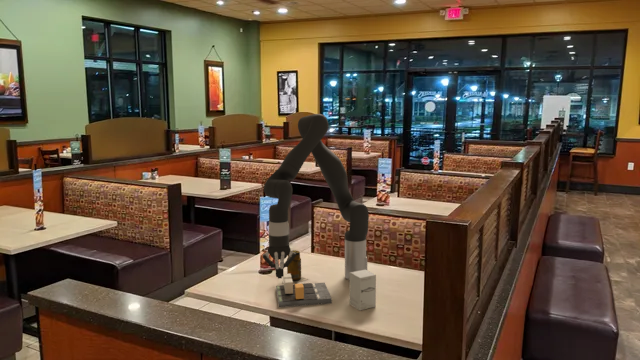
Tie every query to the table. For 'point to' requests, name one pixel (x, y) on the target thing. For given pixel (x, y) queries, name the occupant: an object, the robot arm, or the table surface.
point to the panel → (312, 295)
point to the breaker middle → (288, 286)
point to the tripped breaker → (299, 291)
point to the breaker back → (286, 277)
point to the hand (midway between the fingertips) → (279, 277)
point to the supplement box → (362, 289)
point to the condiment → (295, 268)
